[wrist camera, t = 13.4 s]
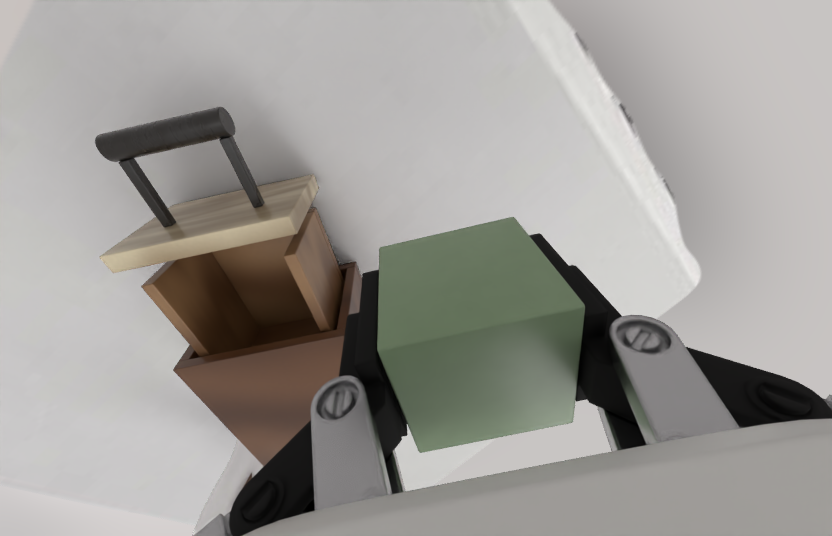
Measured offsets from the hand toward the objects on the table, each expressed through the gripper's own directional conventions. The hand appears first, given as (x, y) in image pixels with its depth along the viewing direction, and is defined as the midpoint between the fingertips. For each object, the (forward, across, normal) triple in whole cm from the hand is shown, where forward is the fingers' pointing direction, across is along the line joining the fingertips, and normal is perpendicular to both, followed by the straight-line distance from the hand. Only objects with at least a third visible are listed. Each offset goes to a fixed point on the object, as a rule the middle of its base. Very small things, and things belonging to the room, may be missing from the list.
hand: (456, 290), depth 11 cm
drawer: (+16, +14, +3) cm, 22 cm away
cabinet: (+17, +14, +15) cm, 27 cm away
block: (0, 0, 0) cm, 0 cm away
